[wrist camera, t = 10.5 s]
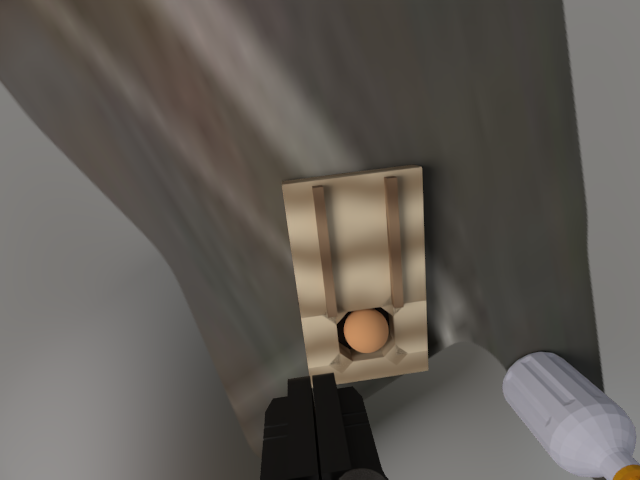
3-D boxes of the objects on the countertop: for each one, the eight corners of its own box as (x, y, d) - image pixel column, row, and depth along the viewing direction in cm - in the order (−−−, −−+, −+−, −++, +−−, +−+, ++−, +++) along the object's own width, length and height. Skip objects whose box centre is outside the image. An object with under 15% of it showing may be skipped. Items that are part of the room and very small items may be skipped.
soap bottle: (575, 386, 50) (829, 617, 27) (514, 418, 51) (709, 669, 27) (553, 338, 47) (814, 545, 24) (490, 372, 48) (681, 606, 25)
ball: (348, 364, 40) (344, 343, 45) (395, 358, 40) (386, 338, 45) (343, 320, 39) (339, 304, 44) (390, 314, 39) (381, 298, 44)
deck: (282, 181, 39) (281, 186, 35) (414, 164, 39) (426, 168, 36) (310, 374, 46) (312, 395, 42) (421, 357, 47) (431, 376, 43)
